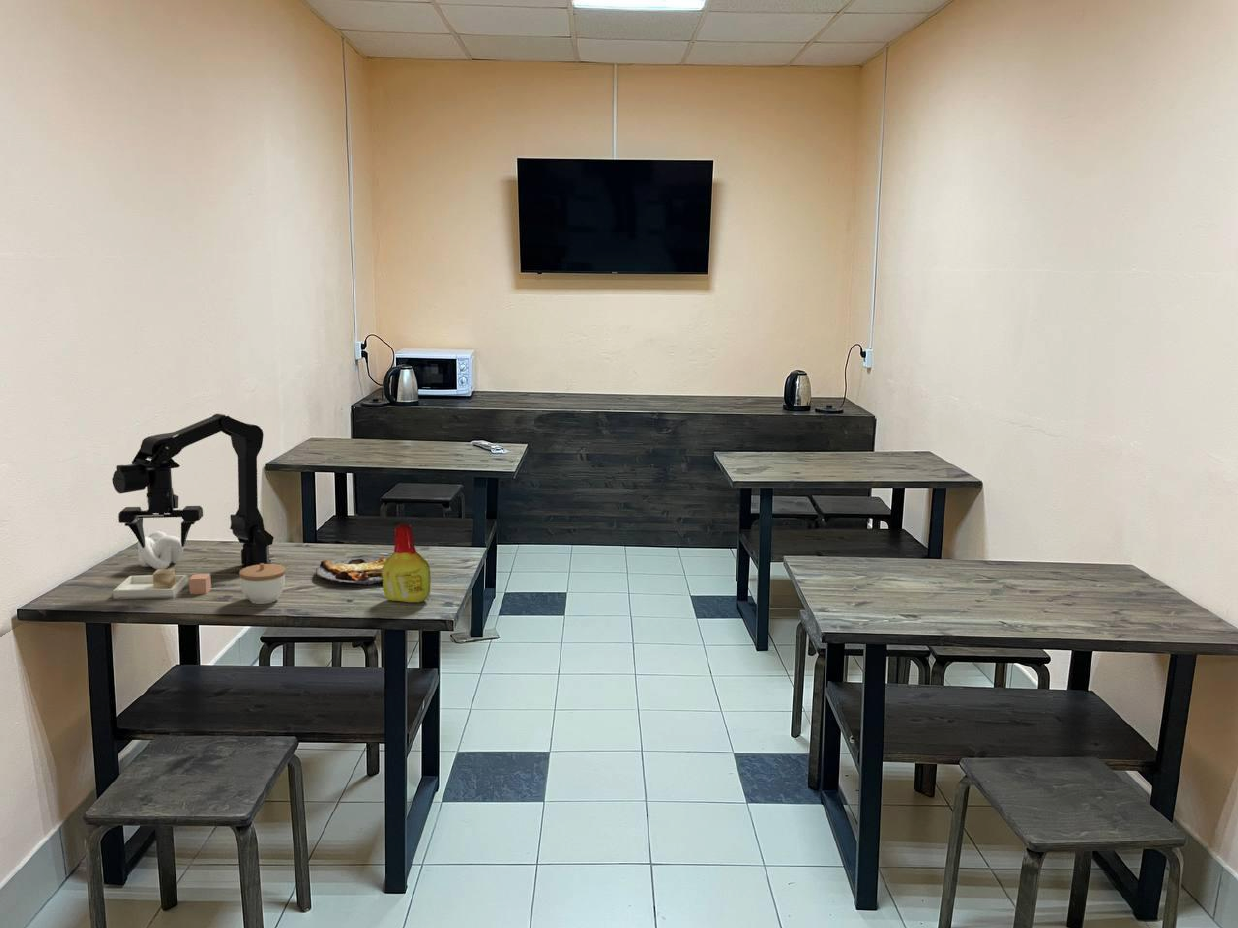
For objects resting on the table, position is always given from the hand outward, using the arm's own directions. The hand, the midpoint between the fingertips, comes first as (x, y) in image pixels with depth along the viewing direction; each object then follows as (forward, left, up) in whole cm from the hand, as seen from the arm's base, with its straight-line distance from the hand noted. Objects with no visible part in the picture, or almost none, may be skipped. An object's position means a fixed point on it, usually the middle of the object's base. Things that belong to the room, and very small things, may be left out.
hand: (163, 547), depth 244 cm
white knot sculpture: (+8, -19, -11) cm, 24 cm away
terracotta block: (-9, +3, -11) cm, 15 cm away
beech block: (0, 0, -10) cm, 10 cm away
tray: (+3, +2, -11) cm, 11 cm away
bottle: (-61, +14, -11) cm, 64 cm away
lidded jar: (-26, +11, -11) cm, 30 cm away
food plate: (-48, -9, -11) cm, 50 cm away
